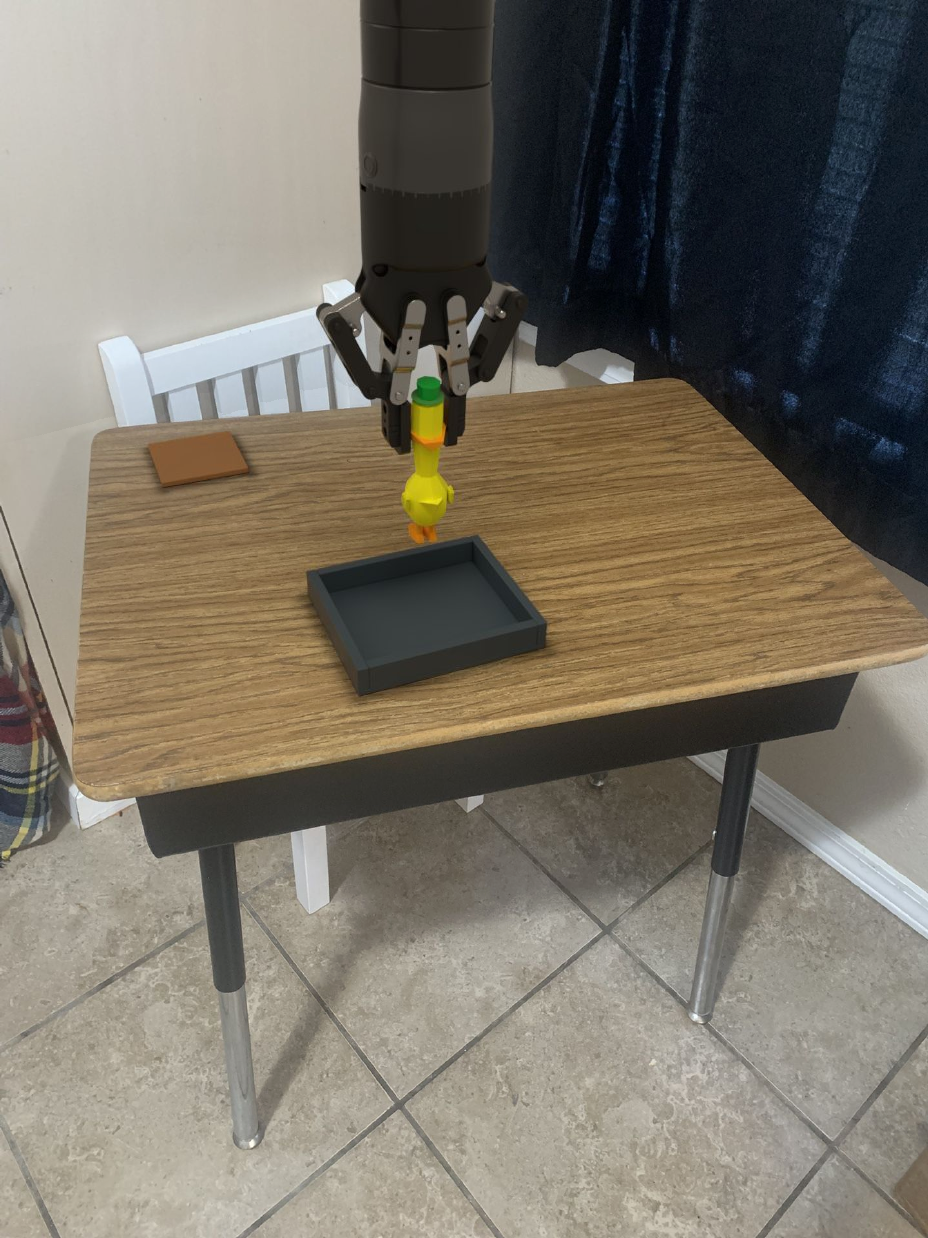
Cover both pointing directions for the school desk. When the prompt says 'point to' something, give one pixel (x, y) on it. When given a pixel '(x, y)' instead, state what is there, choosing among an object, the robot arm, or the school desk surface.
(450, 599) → the tray
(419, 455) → the toy figure
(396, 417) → the robot arm
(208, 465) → the coaster
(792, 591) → the school desk surface
